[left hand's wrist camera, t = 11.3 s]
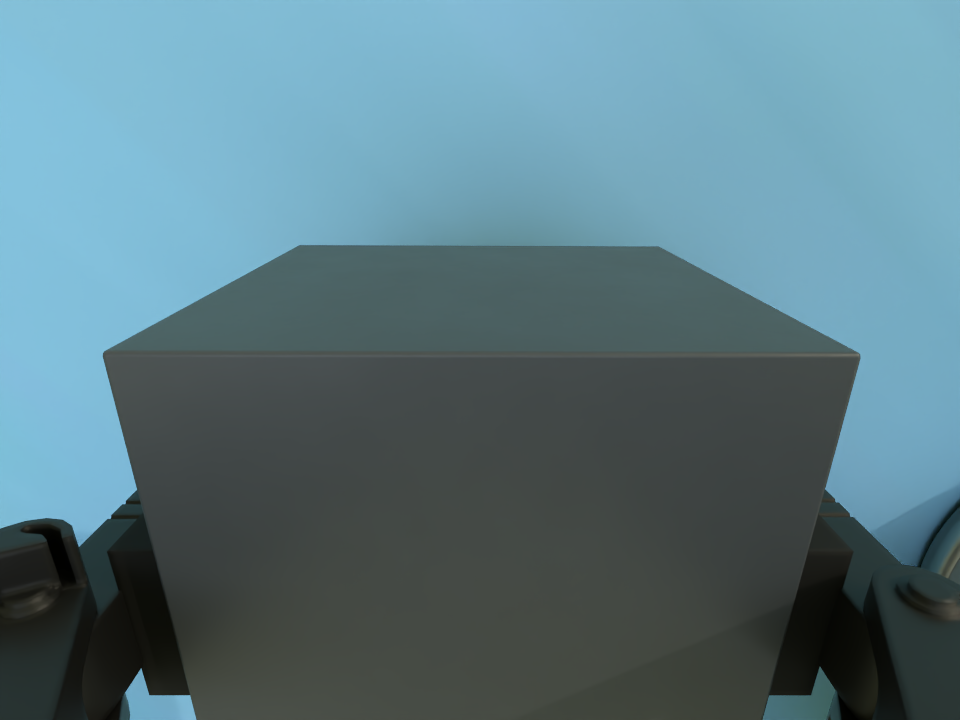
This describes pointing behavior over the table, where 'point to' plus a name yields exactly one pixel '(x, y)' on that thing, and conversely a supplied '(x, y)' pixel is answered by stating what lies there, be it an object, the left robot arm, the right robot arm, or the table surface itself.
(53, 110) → the table surface
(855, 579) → the left robot arm
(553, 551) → the wide block
